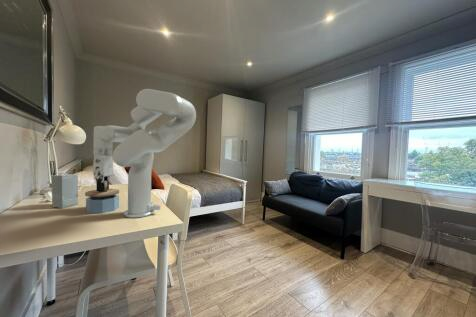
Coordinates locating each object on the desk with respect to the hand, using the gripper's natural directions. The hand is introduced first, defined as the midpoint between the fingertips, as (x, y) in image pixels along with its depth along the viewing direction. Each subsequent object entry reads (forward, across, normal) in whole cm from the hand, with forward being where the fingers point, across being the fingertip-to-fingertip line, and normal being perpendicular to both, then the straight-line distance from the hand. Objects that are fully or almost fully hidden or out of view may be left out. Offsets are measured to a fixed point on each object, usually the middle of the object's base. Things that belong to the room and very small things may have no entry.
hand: (102, 189), depth 96 cm
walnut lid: (+2, 0, 0) cm, 2 cm away
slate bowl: (+10, 0, 0) cm, 10 cm away
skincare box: (+10, +8, +21) cm, 24 cm away
